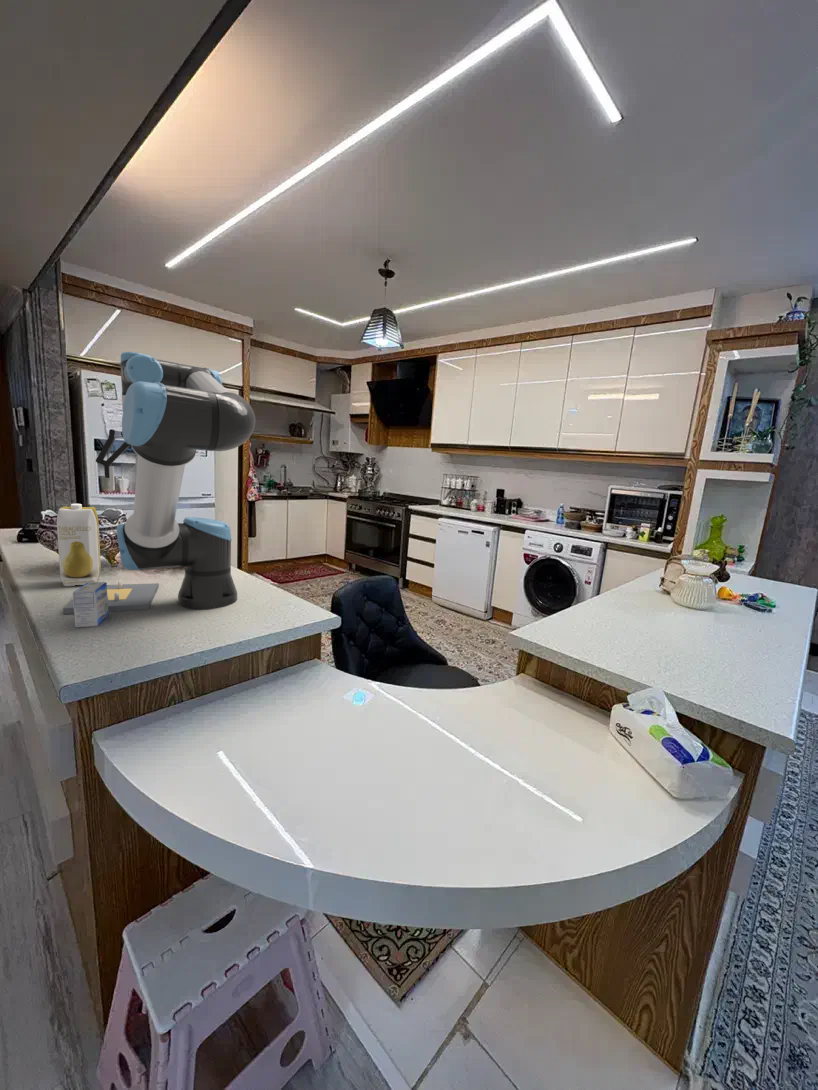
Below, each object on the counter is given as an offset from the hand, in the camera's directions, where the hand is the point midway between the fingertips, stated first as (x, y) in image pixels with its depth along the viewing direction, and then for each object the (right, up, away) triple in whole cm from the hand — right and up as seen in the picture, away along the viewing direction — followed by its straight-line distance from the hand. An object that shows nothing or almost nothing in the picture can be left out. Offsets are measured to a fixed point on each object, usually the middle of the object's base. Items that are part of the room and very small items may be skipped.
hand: (141, 491), depth 124 cm
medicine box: (0, -34, -20) cm, 39 cm away
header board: (-4, -30, -4) cm, 31 cm away
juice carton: (-22, -27, +7) cm, 36 cm away
